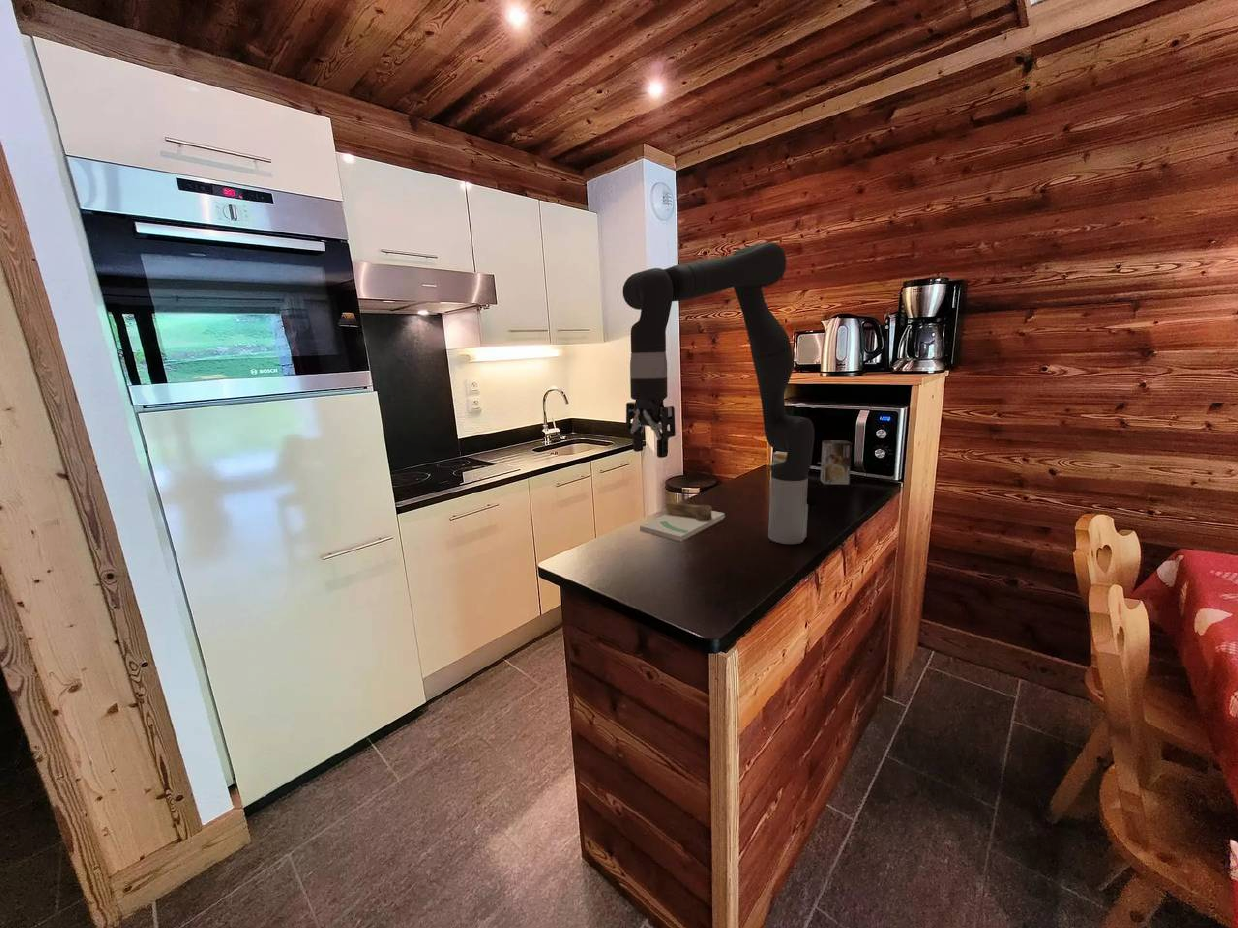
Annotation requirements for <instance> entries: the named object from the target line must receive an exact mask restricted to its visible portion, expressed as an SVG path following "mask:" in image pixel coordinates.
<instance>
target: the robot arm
mask: <svg viewBox="0 0 1238 928" xmlns="http://www.w3.org/2000/svg"><path fill="white" fill-rule="evenodd" d="M785 253H786V252H785V251H784V249H783V248H782V247H781V246H780V245H779V244H777V243H775V242H771V241H765V242H761V243H757V244H753V245H750V246H745V247H742V248H739V249H738V250H736V251H735V252H734V253H733V255H729V256H723V257H716V258H709V259H701V260H696V261H689V262H685V263H684V262H683V263H679V264H676V265H672V266H669V267H667V268H664V269H663V268H661V267H653V268H648V269H645V270H642V271H638V272H635V273H633V274H631V275H630V276H628V278H627V279H626V280H625V281H624V284H623V285H622V297H623V299H624V302H625V304H626V305H628V306H629V307H630V308H632V309H634V310H637V311H638V310H639V311H640V317H639V319H638V321H636V322H635V323H633V324H632V326H631V328H630V361H629V377H630V379H629V380H630V381H629V383H630V387H629V388H630V390H629V391H630V399H631V400H634V401H635V402H634V401H633V402H627V403H625V429H626V430H627V431H630V434H631V435H632V450H633V452H636V453H639V452H642V451H643V450H644V433H643V432H644V430H645V429H646V428H645V427H650V430H651V431H653V432H654V433H655V437H656V438H657V439H656V457H657V458H659V459H663V458H667V457H668V455H669V439H670V438H672V437H675V436H676V434H677V433H676V432H677V431H676V428H677V427H676V408H675V406H673V405H669V406H665V405H664V400H666V399H667V398H668V359H667V339H666V338H667V335H666V334H667V333H666V332H667V331H666V330H667V327H668V323H669V319H670V315H671V309H672V306H673V302H681V301H682V302H683V301H688V300H692V299H696V298H697V299H698V298H700V297H704V296H707V295H711V294H714V293H718V292H720V291H724V290H725V291H726V290H727V289H732V288H734V292H735V293H734V294H735V296H736V298H737V301H738V304H739V307H740V310H741V311H740V312H741V314H742V317H743V321H744V326H745V329H746V333H747V337H748V340H749V341H748V342H749V346H750V347H749V348H750V354H751V358H752V363H753V366H754V370H755V375H756V379H757V383H758V389H759V394H760V401H761V407H762V408H761V409H762V416H763V417H762V418H763V427H764V435H765V437H766V441H767V444H768V445H769V446H770V447H771V448H772V449H775V450H777V451H782V452H787V458H786V461H785V462H782V463H777V464H774V465H773V466H772V465H771V466H772V468H771V467H770V484H769V485H770V488H769V489H770V490H769V491H770V492H769V506H768V507H769V511H768V512H769V513H768V530H767V531H768V532H767V538H768V539H769V540H770V541H772V542H775V543H777V544H778V543H779V544H782V545H797V544H798V545H799V544H802V543H803V542H804V540H805V539H806V538H807V528H808V514H809V513H808V512H809V504H808V503H807V499H808V498H807V497H808V480H809V471H810V469H811V467H812V460H813V451H814V445H815V444H814V443H815V426H814V424H813V422H812V420H811V419H810V418H808V417H804V416H798V415H788V413H787V410H786V404H785V394H786V390H787V387H788V385H789V382H790V380H791V377H792V375H793V371H794V366H795V362H794V354H793V349H792V344H791V340H790V337H789V335H788V333H787V330H785V329H784V327H783V326H782V325H781V323H780V322H779V320H778V319H776V317H775V316H774V314H773V313H772V312H771V311H770V308H769V307H768V304H767V302H766V299H765V295H764V292H763V288H765V287H766V288H767V287H771V286H772V285H775V284H776V283H778V282H779V281H780V280H781V279H782V278H783V277H784V274H785V272H786V269H787V257H786V254H785ZM631 420H632V421H631ZM668 426H669V429H668Z"/></svg>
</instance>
